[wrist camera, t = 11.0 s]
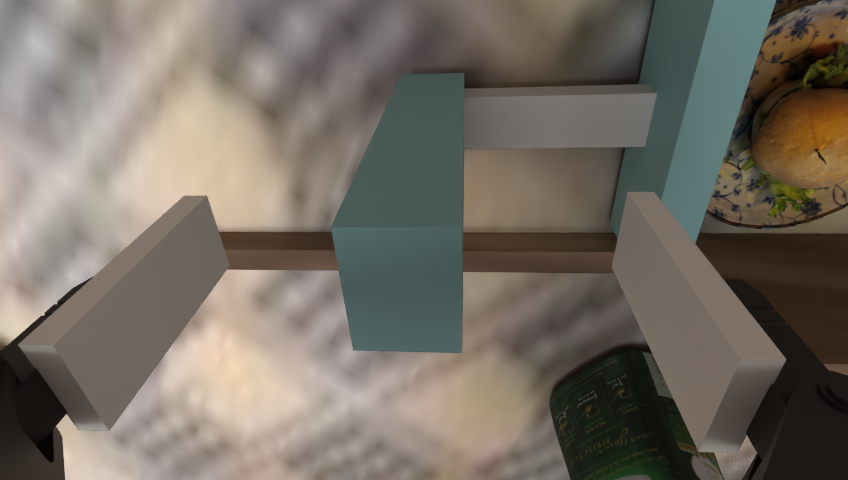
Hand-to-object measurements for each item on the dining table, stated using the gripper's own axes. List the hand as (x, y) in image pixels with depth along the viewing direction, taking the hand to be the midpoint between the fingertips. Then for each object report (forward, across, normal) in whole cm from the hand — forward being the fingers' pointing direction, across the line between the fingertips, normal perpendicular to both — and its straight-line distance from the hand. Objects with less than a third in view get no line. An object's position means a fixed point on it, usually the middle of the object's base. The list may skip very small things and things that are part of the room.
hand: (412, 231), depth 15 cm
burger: (+12, -18, 0) cm, 22 cm away
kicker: (+11, -5, -1) cm, 13 cm away
